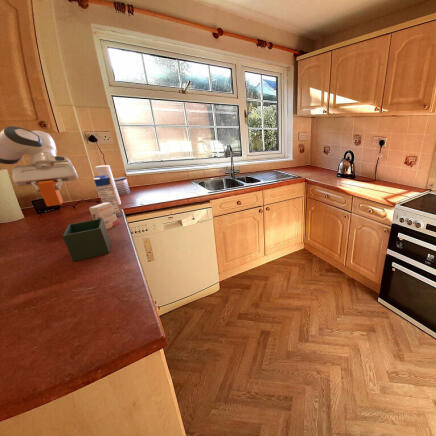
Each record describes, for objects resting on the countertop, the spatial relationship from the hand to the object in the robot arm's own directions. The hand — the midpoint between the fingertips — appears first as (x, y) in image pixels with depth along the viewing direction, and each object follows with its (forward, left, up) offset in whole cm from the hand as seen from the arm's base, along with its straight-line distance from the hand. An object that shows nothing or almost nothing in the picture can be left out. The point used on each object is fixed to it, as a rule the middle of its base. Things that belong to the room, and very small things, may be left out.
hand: (49, 190), depth 103 cm
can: (+20, +79, -24) cm, 85 cm away
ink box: (+14, +7, -24) cm, 28 cm away
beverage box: (+16, +27, -24) cm, 39 cm away
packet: (0, +1, -6) cm, 6 cm away
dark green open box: (+10, -20, -23) cm, 33 cm away
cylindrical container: (+16, +50, -23) cm, 57 cm away
